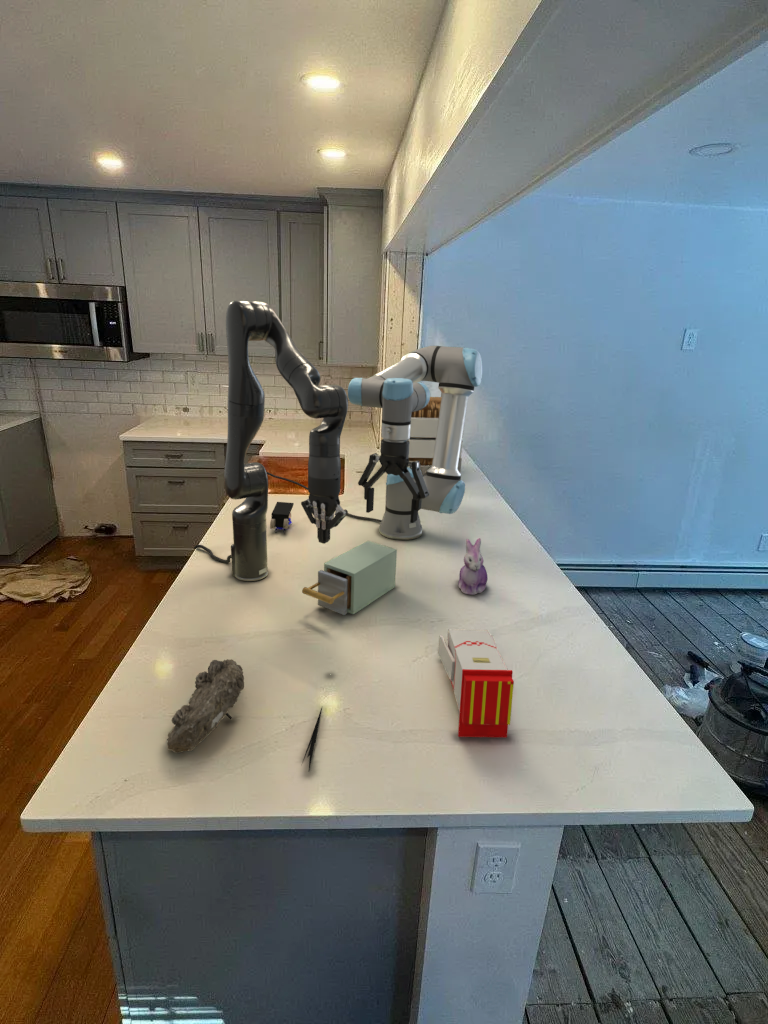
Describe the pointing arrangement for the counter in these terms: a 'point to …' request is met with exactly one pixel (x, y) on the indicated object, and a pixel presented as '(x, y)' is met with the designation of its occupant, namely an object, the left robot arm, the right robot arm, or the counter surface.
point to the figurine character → (281, 516)
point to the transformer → (426, 433)
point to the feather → (313, 740)
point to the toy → (478, 682)
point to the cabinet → (366, 572)
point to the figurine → (473, 570)
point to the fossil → (206, 705)
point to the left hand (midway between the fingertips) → (323, 542)
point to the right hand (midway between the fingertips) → (391, 516)
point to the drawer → (332, 591)
